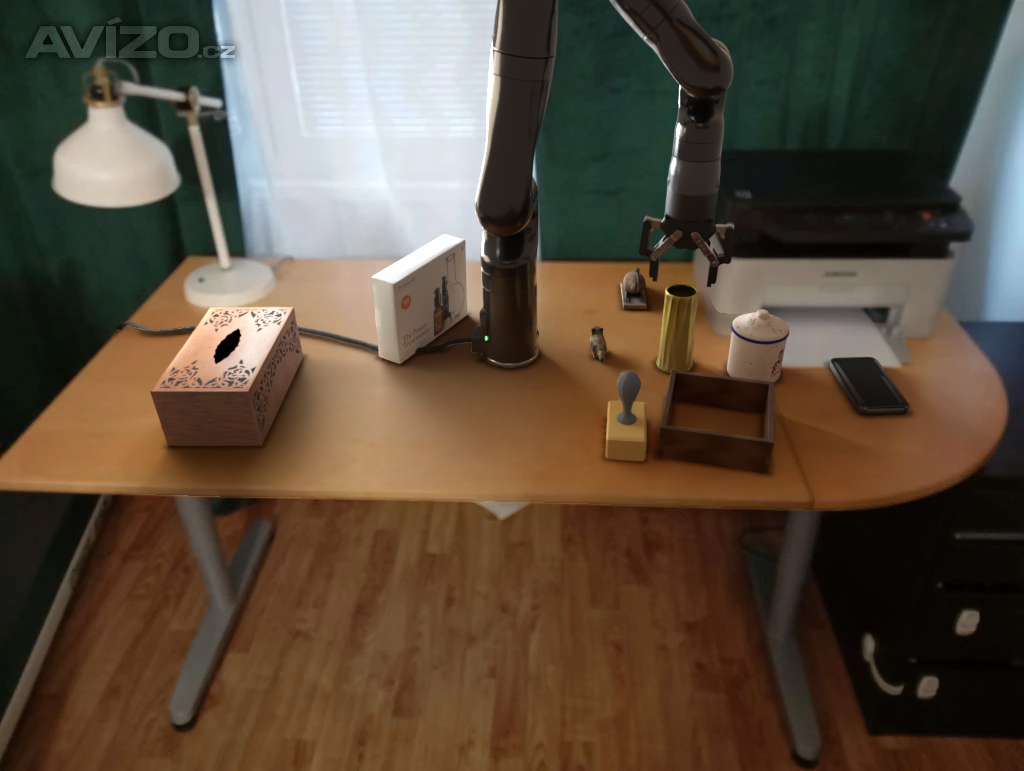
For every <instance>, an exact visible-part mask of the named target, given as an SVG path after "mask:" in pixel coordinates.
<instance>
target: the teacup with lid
mask: <svg viewBox="0 0 1024 771" xmlns="http://www.w3.org/2000/svg"><path fill="white" fill-rule="evenodd" d="M730 327H731V328H730V329H731V336H730V343H729V344H730V345H729V351H728V357H727V366H726V371H727V373H728V375H729V377H735V378H744V379H752V380H760V381H769V382H775V383H776V381H778V380H779V379H780V376H781V371H782V366H783V361H784V355H785V349H786V344H787V339H788V337H789V335H790V327H789V326H788V323H786V321H785V320H784V319H782V318H781V317H779V316H776V315H774V314H770V312H769V310H767V309H764V308H763V309H758V310H757V311H756V312H746V313H742V314H740V315H738V316H737V317H735V318H734V319H733V321H732V323H731V325H730Z"/></svg>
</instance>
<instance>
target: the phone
mask: <svg viewBox="0 0 1024 771" xmlns="http://www.w3.org/2000/svg"><path fill="white" fill-rule="evenodd" d="M829 368H830V369H831V370H830V371H832V373H833V375H834V376H835V378H836V379H837V381H838V383H839V384H840V386H841V388H842V390H844V392H845V394H846V396H847V397H848V399H849V400H850V402H851V403H852V405H853V407H854V408H855V410H856V411H857V413H859V414H860V415H865V416H872V415H873V416H874V415H875V416H877V415H905V414H907V413H908V411H909V408H910V404H909V402H908V400H907V399H906V398H905V396H904V395H903V393H902V392H901V391H900V389H899V388H898V386H897V385H896V383H894V381H893V380H892V378H891V377H890V375H889V374H888V373H887V371H886V370H885V368H884V367H883V366H882V365H881V363H880V361H879V360H878V359H877V358H876V357H872V356H849V357H847V356H846V357H845V356H844V357H832V358H831V359H830V361H829Z"/></svg>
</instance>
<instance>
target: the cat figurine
mask: <svg viewBox="0 0 1024 771" xmlns="http://www.w3.org/2000/svg"><path fill="white" fill-rule="evenodd" d="M590 331H591V333H590V338H589V344H590V352H591V353H592V357H593V359H597V357H598V360H599V362H600V363H604V362H605V361H606V354H607V351H608V346H607V341H606V338H605V336H604V327H601V326H598V325H597V326H596V325H595V326H593V327H592V328H591V329H590Z"/></svg>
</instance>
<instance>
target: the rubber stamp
mask: <svg viewBox="0 0 1024 771" xmlns="http://www.w3.org/2000/svg"><path fill="white" fill-rule="evenodd" d="M641 387H642V381H641V377H640V376H639V374H638V373H637V372H635V371H633V370H625V371H623V372H621V373H620V374H619V376H618V378H617V379H616V390H617V394H618V396H619V398H620V400H614V399H613V400H612V399H611V400H609V401H608V402H607V412H606V413H607V414H606V432H605V433H606V434H605V451H604V452H605V453H604V456H605V458H606V460H615V461H616V460H617V461H630V462H631V461H633V462H644V461H645V460H646V454H647V444H648V443H647V442H648V439H647V438H648V437H647V436H648V434H647V433H648V430H647V428H648V427H647V426H648V425H647V422H648V421H647V404H646V402H645V401H636V399H637V398H638V396H639V393H640V392H641Z"/></svg>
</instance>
